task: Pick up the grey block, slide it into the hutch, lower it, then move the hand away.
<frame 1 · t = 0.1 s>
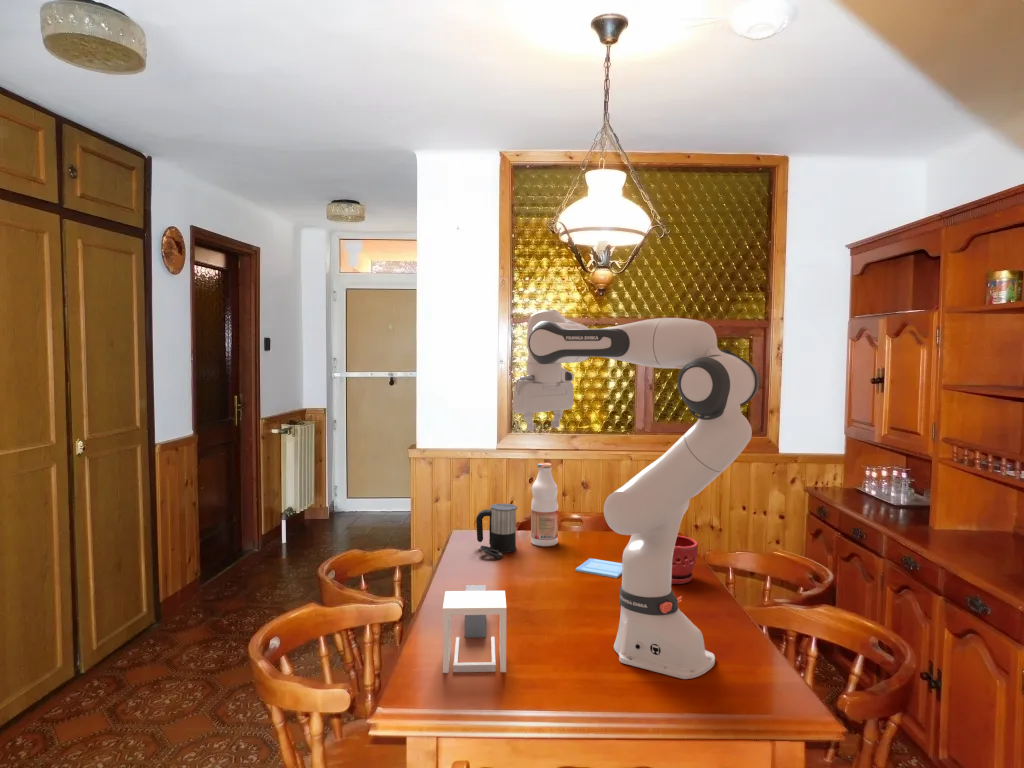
hand: (543, 429, 175), 48 cm above the table, tool pointing down, fingers open, 8 cm apart
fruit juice: (544, 543, 241), on the table
plant pot: (674, 580, 204), on the table
grey block: (475, 626, 169), on the table
hutch: (474, 653, 154), on the table
milk frother: (498, 553, 229), on the table
light blue flat slab: (602, 570, 213), on the table
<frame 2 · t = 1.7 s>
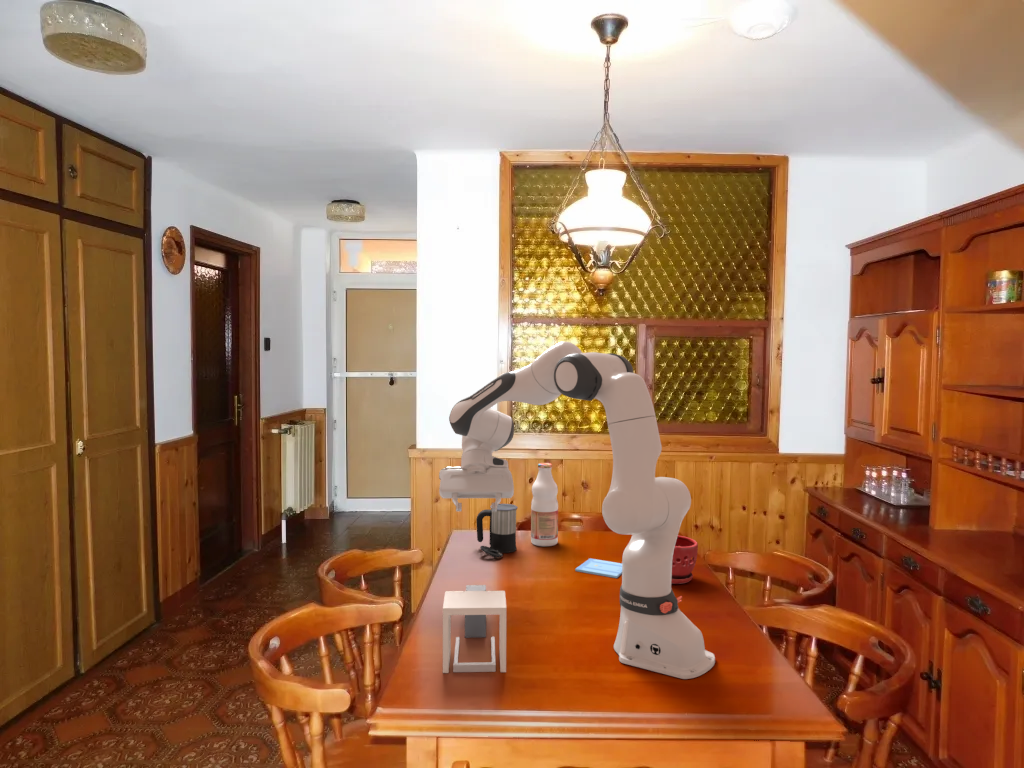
hand: (476, 510, 182), 25 cm above the table, tool tilted 45°, fingers open, 8 cm apart
nothing on the table moved.
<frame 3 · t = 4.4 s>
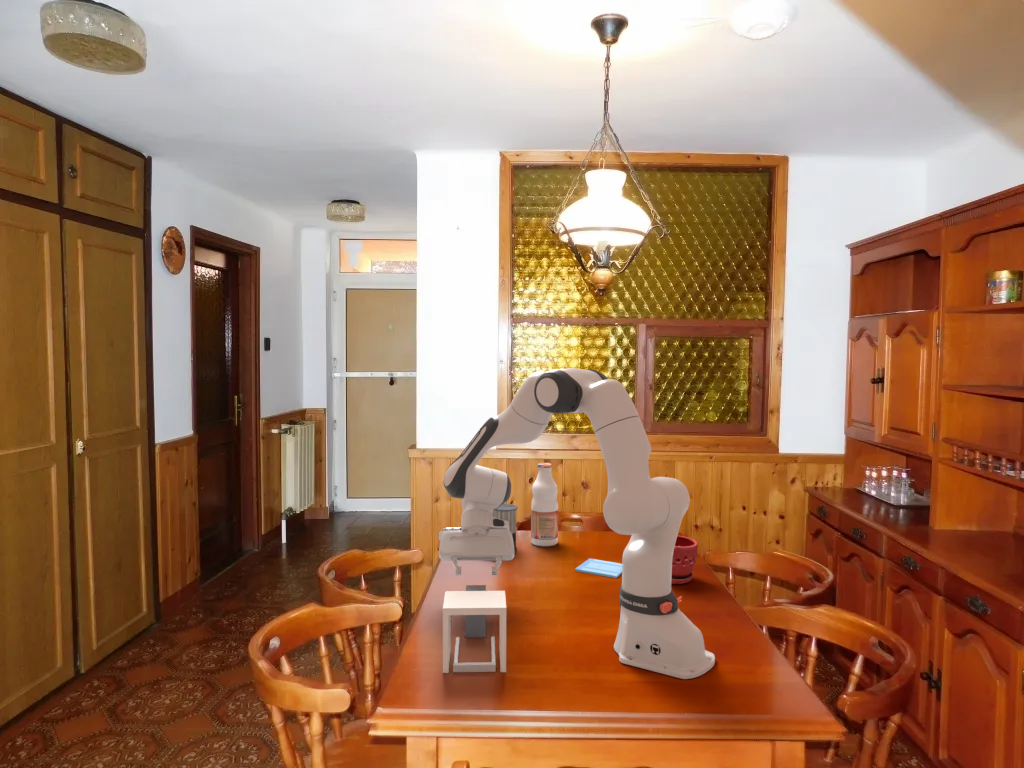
hand: (476, 574, 179), 9 cm above the table, tool tilted 45°, fingers open, 8 cm apart
nothing on the table moved.
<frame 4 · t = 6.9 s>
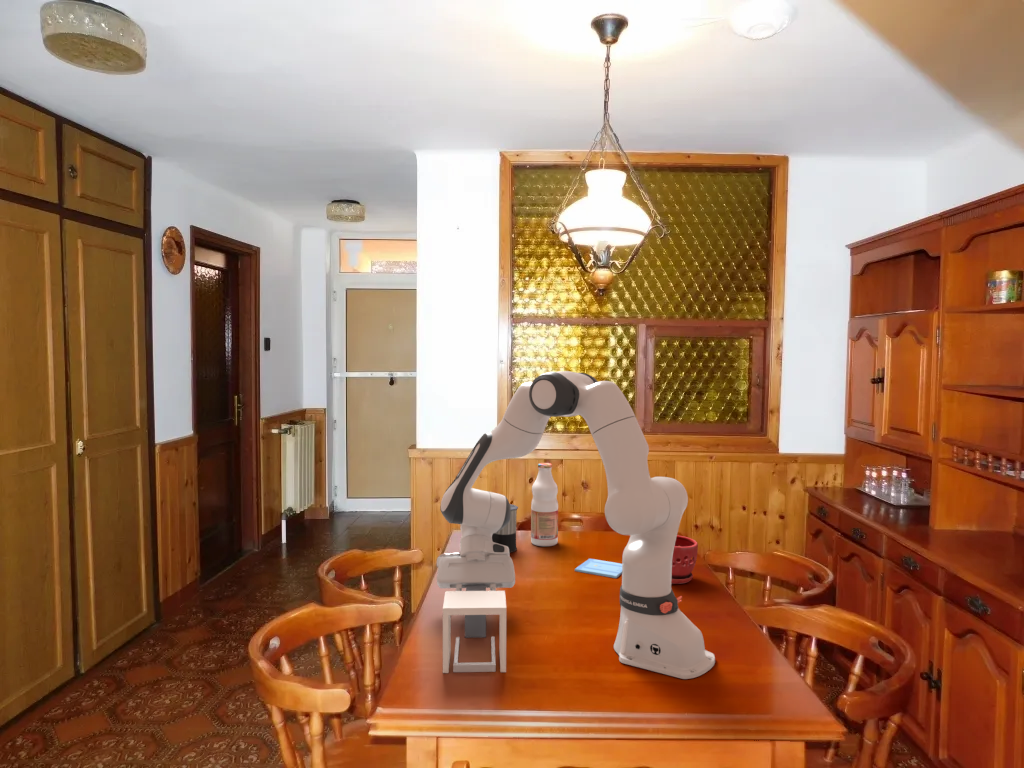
hand: (475, 602, 173), 4 cm above the table, tool tilted 45°, fingers closed on grey block, 5 cm apart
grey block: (475, 626, 169), on the table, touching gripper
everything else where it was.
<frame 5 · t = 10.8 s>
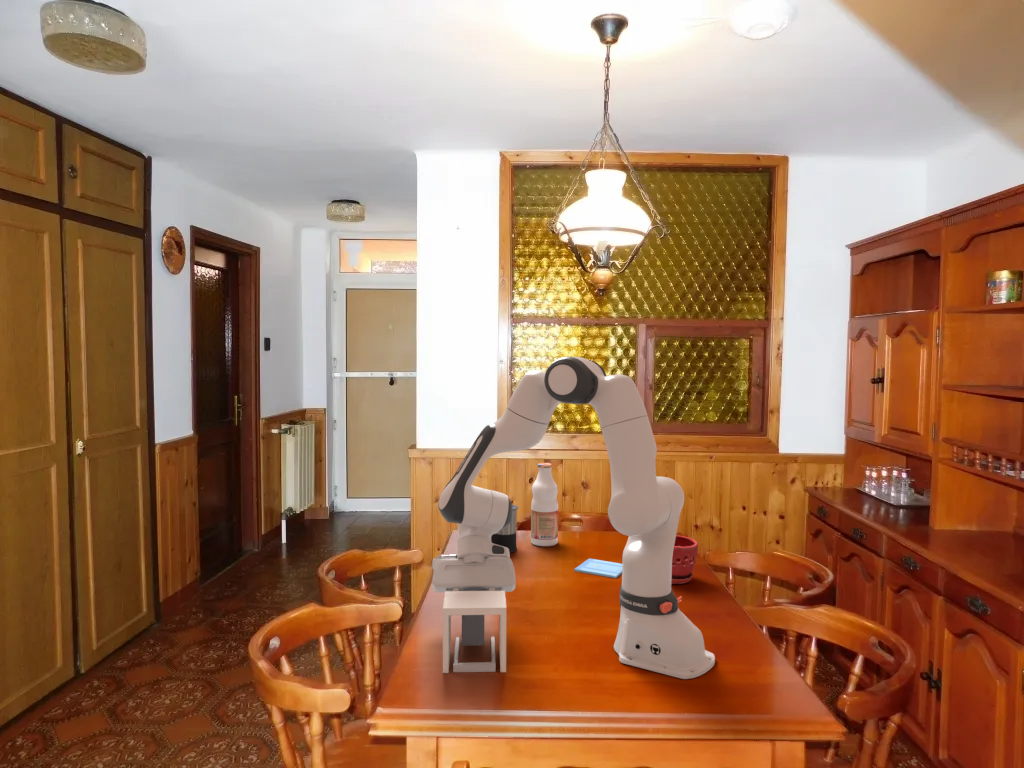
hand: (473, 608, 162), 7 cm above the table, tool tilted 45°, fingers closed on grey block, 5 cm apart
grey block: (473, 633, 158), point 3 cm above the table, touching gripper
everything else where it was.
when the fingers open (5 cm above the table, at t = 14.7 s): grey block moves 1 cm, resting in hutch.
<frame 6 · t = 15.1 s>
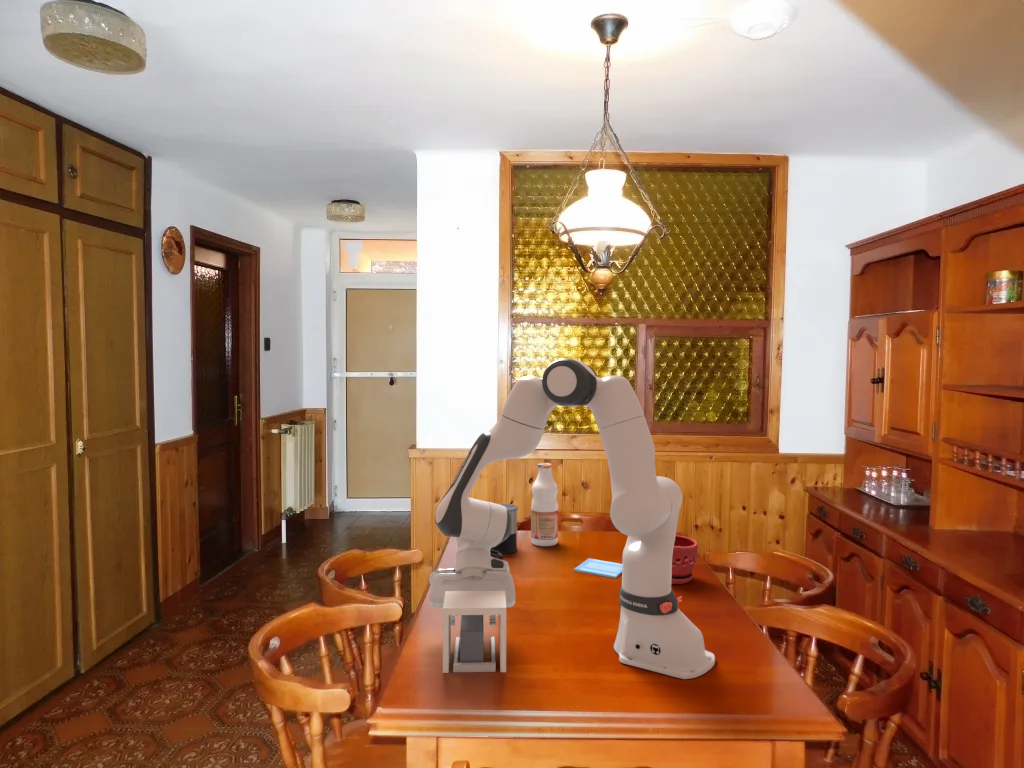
hand: (472, 624, 157), 5 cm above the table, tool tilted 45°, fingers open, 8 cm apart
grey block: (472, 654, 154), resting in hutch
everything else where it was.
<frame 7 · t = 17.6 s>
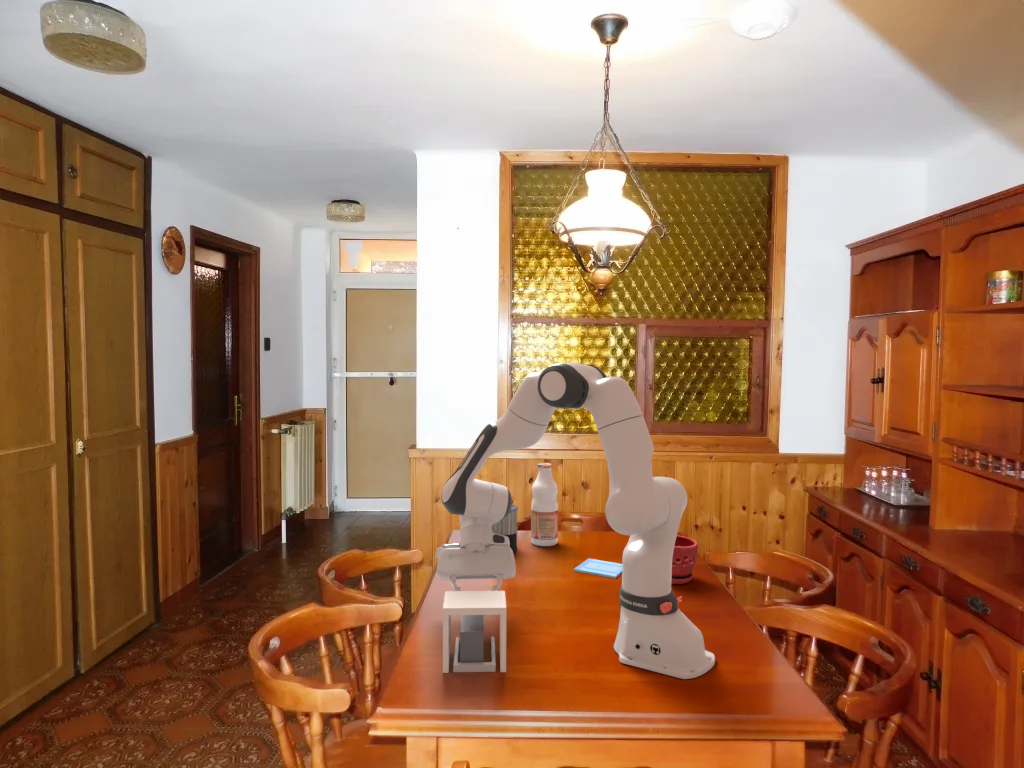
hand: (476, 594, 171), 7 cm above the table, tool tilted 40°, fingers open, 8 cm apart
nothing on the table moved.
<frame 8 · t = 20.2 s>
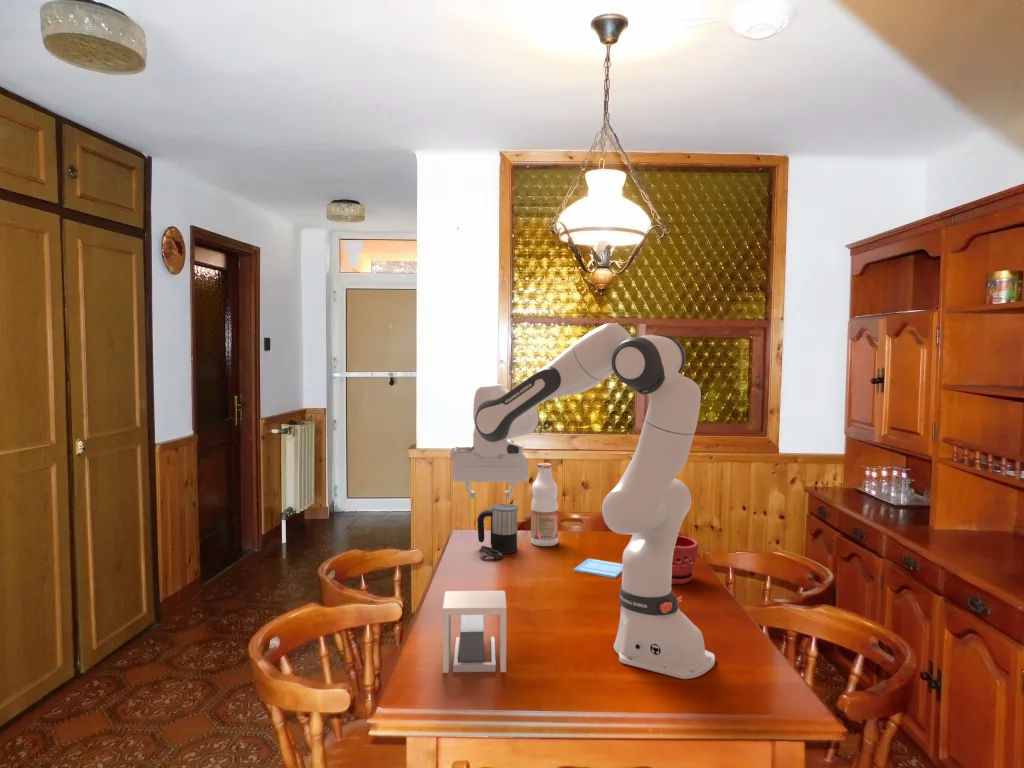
hand: (489, 498, 180), 29 cm above the table, tool pointing down, fingers open, 8 cm apart
nothing on the table moved.
at the end: grey block 0.8 cm off-centre on the hutch, point 0.0 cm above the hutch's base; grey block tilted 0°; the gripper is holding nothing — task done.
